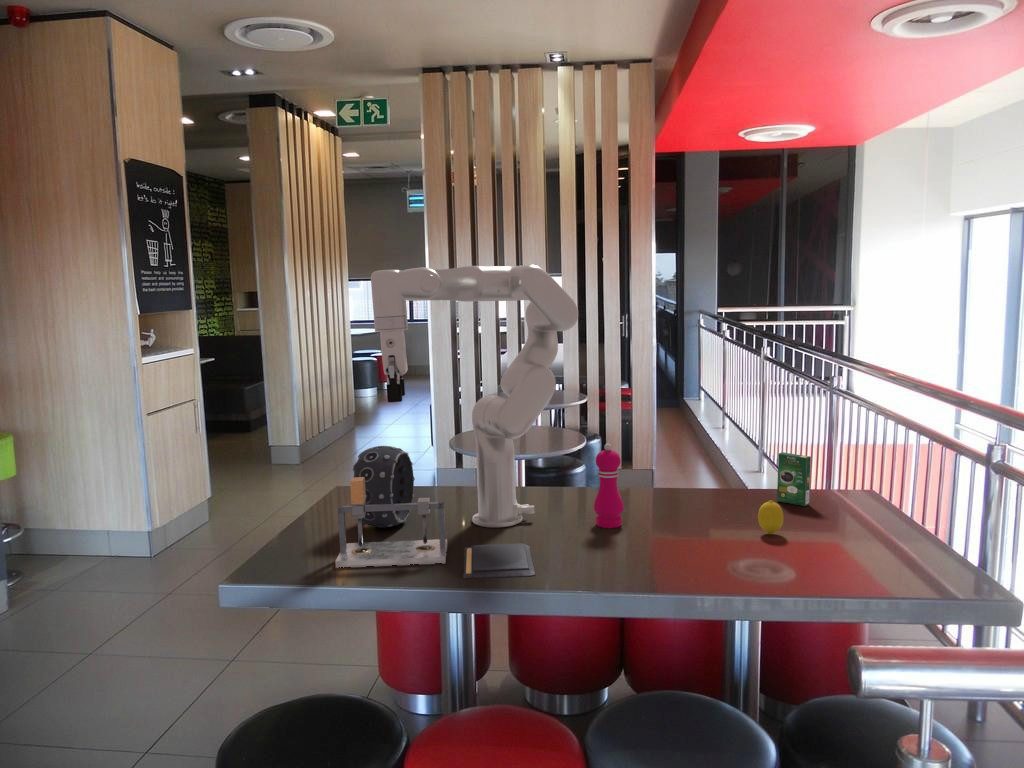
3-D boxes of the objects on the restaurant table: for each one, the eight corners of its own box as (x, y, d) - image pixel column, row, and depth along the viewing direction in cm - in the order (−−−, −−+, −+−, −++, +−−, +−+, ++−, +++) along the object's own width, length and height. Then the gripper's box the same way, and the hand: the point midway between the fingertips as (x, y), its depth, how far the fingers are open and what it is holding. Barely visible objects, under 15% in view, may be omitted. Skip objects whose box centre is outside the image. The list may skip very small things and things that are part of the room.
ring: (418, 515, 200) (415, 439, 197) (392, 538, 180) (388, 455, 178) (379, 514, 201) (375, 439, 199) (349, 537, 182) (345, 454, 180)
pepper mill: (590, 527, 184) (589, 445, 182) (598, 519, 191) (597, 440, 189) (619, 530, 182) (618, 447, 180) (627, 521, 188) (626, 441, 186)
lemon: (787, 533, 175) (787, 499, 174) (776, 539, 171) (777, 504, 170) (764, 529, 179) (764, 496, 178) (753, 535, 175) (753, 501, 174)
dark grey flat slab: (535, 570, 152) (459, 573, 152) (536, 580, 152) (459, 582, 152) (531, 539, 172) (464, 541, 172) (531, 548, 172) (464, 550, 172)
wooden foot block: (368, 543, 168) (364, 477, 167) (365, 548, 165) (362, 480, 163) (356, 544, 168) (352, 477, 167) (353, 549, 165) (350, 481, 163)
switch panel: (447, 545, 174) (445, 492, 172) (445, 563, 162) (443, 506, 160) (345, 549, 172) (342, 496, 171) (335, 568, 161) (332, 510, 159)
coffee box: (811, 504, 199) (811, 455, 197) (806, 507, 197) (806, 457, 195) (781, 499, 205) (782, 451, 203) (776, 501, 203) (776, 453, 201)
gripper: (405, 325, 166) (410, 403, 168) (409, 322, 183) (415, 392, 185) (370, 327, 165) (376, 405, 167) (378, 324, 182) (383, 395, 184)
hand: (396, 398), depth 176 cm, fingers open, 9 cm apart
